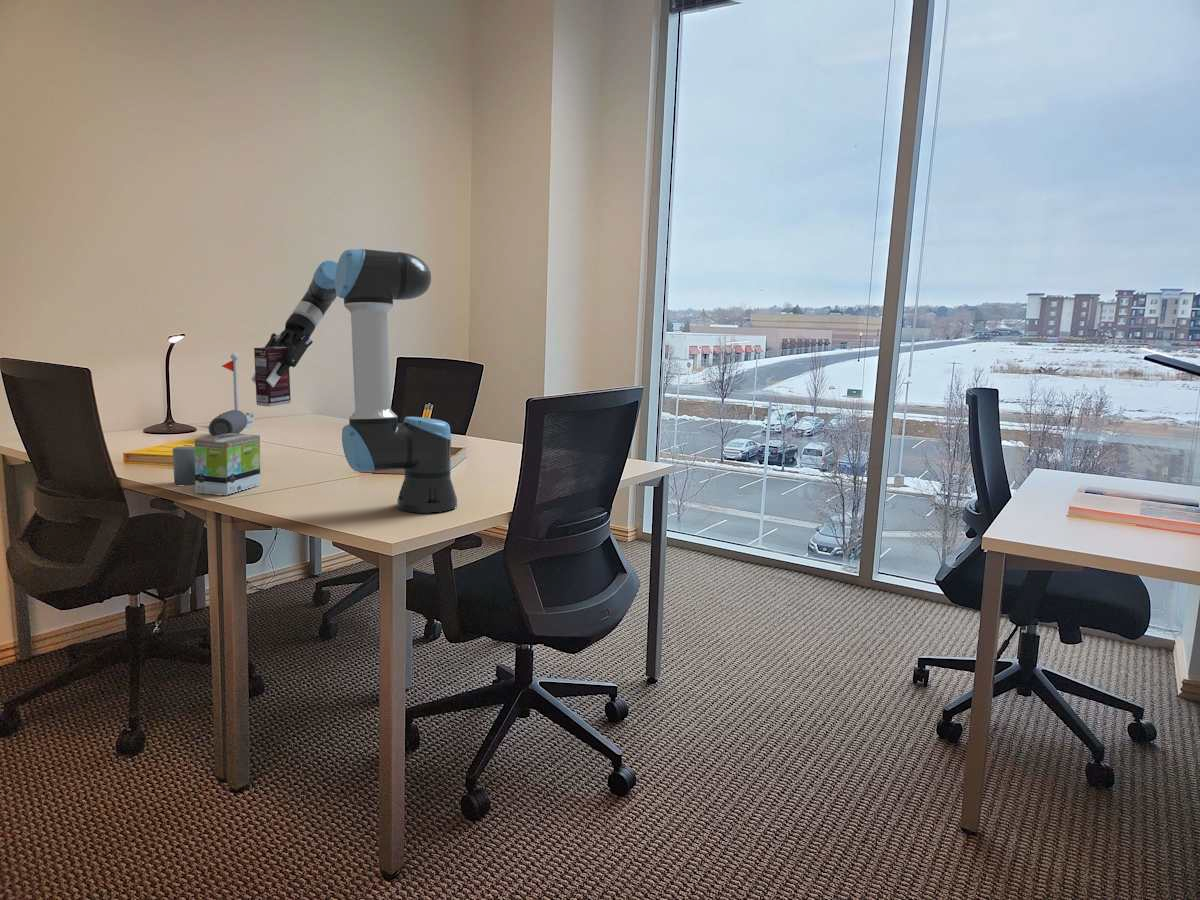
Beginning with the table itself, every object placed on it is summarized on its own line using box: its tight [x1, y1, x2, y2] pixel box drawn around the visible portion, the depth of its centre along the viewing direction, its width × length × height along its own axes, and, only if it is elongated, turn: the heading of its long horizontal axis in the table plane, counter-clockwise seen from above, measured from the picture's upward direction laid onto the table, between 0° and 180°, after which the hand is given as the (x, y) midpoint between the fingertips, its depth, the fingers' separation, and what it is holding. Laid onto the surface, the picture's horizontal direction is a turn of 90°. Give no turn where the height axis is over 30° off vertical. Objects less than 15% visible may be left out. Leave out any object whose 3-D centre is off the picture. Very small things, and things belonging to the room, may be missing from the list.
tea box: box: [194, 433, 261, 496], centre depth 227 cm, size 15×10×15 cm
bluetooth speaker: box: [208, 409, 247, 437], centre depth 309 cm, size 23×9×10 cm, turn 10°
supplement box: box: [253, 346, 292, 407], centre depth 231 cm, size 9×5×16 cm, turn 158°
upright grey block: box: [172, 445, 196, 487], centre depth 232 cm, size 7×7×10 cm
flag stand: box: [218, 352, 255, 429], centre depth 336 cm, size 13×13×30 cm
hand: (262, 382), depth 228 cm, fingers closed on supplement box, 5 cm apart
